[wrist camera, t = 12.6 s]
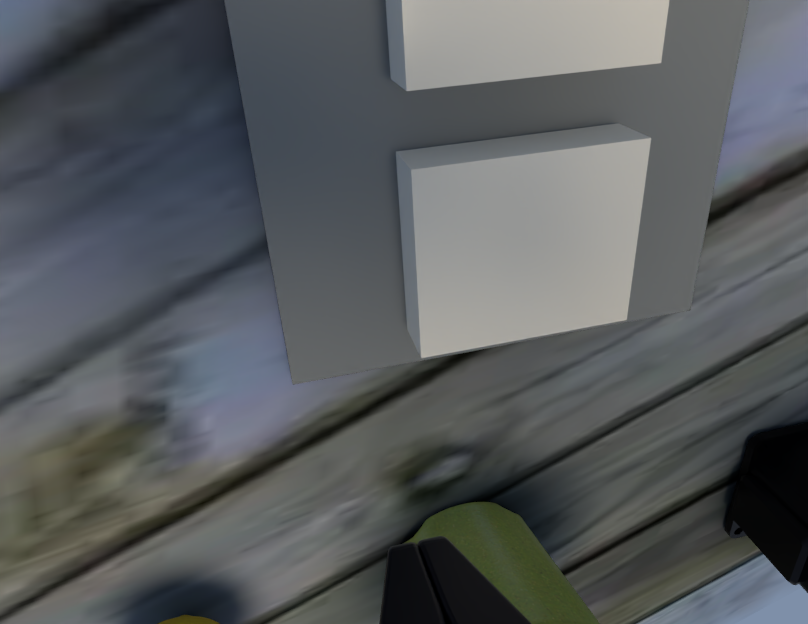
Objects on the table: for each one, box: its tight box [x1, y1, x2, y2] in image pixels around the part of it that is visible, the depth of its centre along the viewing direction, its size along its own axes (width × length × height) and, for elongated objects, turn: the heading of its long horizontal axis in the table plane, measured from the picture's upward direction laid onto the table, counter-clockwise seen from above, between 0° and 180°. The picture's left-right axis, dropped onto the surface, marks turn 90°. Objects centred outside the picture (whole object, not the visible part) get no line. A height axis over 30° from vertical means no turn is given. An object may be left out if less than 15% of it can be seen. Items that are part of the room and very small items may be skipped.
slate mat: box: [224, 0, 749, 385], centre depth 19 cm, size 15×17×1 cm
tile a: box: [396, 123, 651, 358], centre depth 20 cm, size 2×6×7 cm
